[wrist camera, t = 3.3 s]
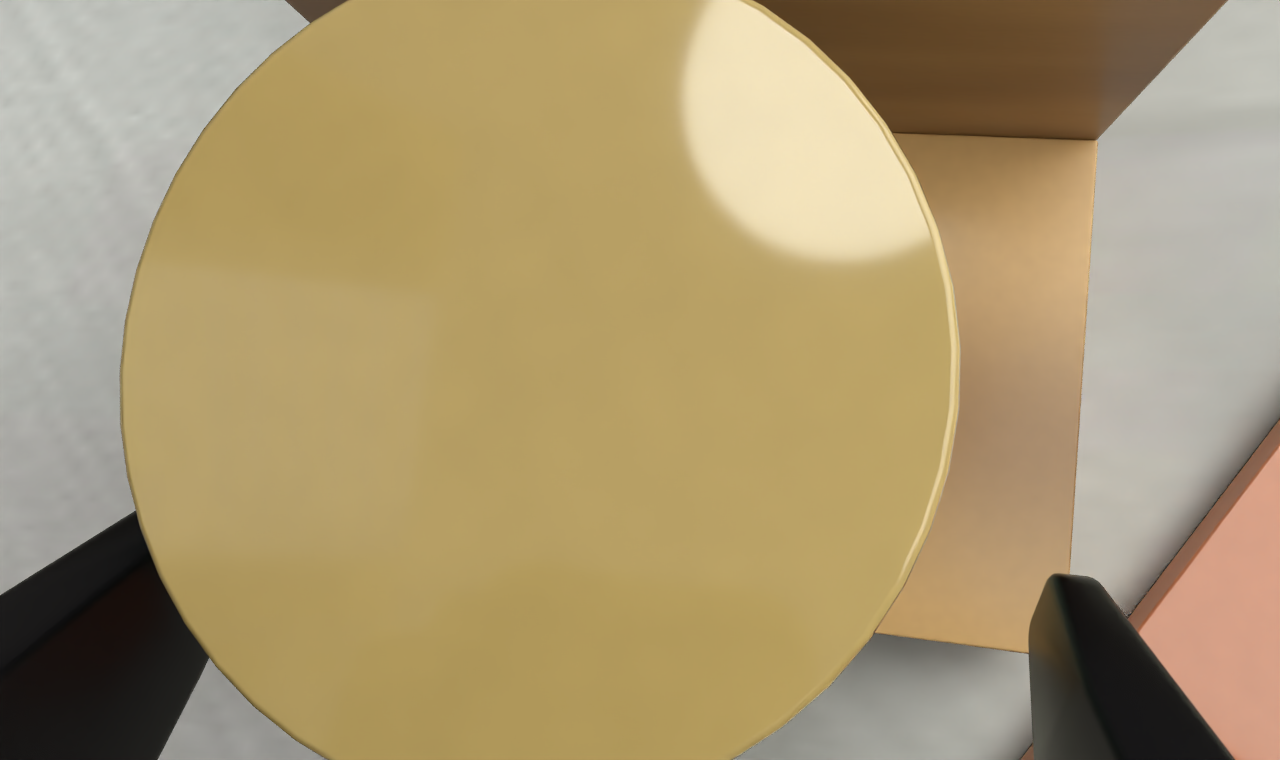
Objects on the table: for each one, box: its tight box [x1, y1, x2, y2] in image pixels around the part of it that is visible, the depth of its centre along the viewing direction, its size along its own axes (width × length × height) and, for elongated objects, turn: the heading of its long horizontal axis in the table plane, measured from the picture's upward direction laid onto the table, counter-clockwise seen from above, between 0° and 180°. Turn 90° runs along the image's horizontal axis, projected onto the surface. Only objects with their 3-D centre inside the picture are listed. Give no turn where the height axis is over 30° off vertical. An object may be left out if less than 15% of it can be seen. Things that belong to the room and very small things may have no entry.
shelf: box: [285, 0, 1228, 654], centre depth 16 cm, size 10×14×9 cm
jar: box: [120, 0, 961, 760], centre depth 12 cm, size 6×6×12 cm
